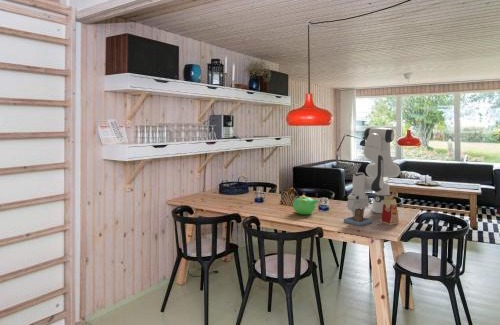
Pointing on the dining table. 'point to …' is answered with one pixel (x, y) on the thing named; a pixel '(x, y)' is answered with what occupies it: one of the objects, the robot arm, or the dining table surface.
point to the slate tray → (350, 220)
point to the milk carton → (389, 211)
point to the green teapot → (304, 205)
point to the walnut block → (358, 215)
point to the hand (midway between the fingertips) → (358, 214)
